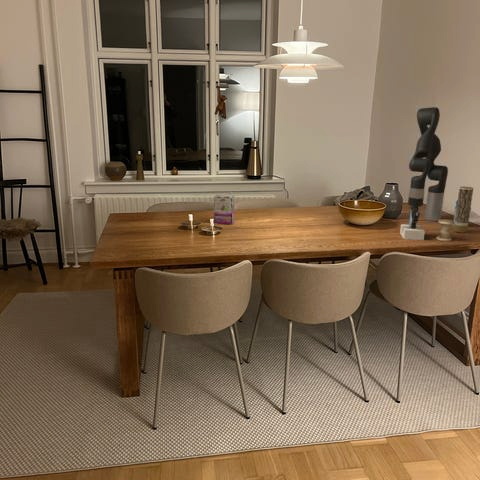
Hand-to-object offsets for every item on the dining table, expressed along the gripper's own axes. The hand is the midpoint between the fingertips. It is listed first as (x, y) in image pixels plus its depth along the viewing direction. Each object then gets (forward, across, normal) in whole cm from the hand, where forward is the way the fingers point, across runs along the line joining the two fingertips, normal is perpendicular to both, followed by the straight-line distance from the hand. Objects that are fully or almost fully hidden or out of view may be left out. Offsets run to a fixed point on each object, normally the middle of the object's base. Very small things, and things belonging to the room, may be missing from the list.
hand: (412, 227), depth 254 cm
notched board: (+5, 0, 0) cm, 5 cm away
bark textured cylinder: (+5, -29, +33) cm, 44 cm away
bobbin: (+5, +2, +16) cm, 17 cm away
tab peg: (+2, 0, 0) cm, 2 cm away
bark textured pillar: (+5, -15, +29) cm, 33 cm away
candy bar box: (+6, -10, -105) cm, 105 cm away
